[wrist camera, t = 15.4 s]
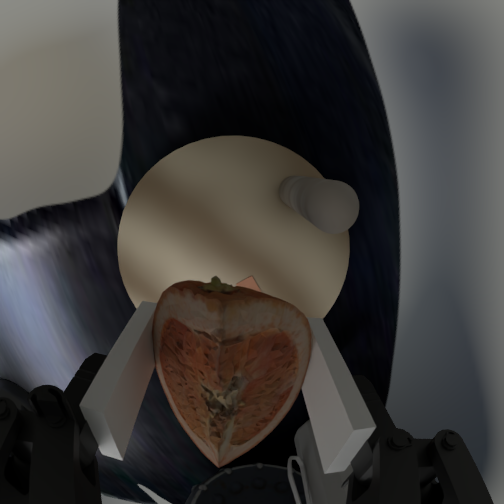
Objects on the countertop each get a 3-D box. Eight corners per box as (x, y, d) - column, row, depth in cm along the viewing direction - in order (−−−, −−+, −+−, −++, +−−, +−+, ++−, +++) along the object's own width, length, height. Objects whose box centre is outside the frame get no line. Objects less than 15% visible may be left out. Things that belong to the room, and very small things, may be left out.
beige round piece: (266, 381, 24) (279, 468, 15) (97, 261, 20) (24, 320, 11) (392, 259, 21) (468, 313, 12) (220, 96, 17) (206, 33, 8)
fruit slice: (156, 241, 11) (104, 292, 6) (316, 255, 12) (363, 311, 7) (165, 388, 13) (146, 460, 9) (286, 396, 14) (300, 469, 9)
